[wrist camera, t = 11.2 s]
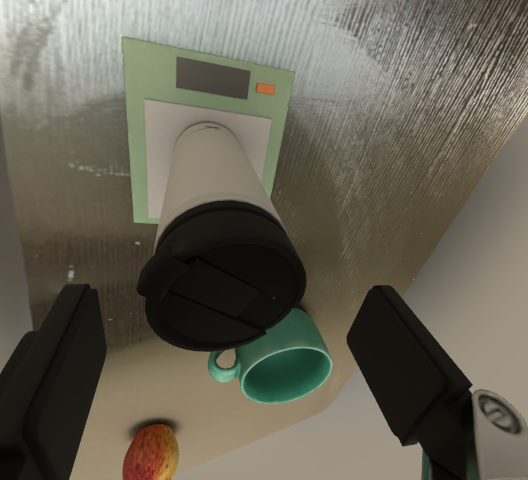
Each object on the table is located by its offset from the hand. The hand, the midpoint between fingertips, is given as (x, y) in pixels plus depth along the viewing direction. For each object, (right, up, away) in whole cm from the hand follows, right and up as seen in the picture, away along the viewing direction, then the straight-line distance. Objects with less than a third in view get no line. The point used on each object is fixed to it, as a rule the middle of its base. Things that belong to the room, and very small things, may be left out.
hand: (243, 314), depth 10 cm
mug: (0, -10, +35) cm, 37 cm away
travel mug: (-5, +11, +17) cm, 21 cm away
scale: (-5, +12, +19) cm, 23 cm away
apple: (-20, -33, +45) cm, 60 cm away
